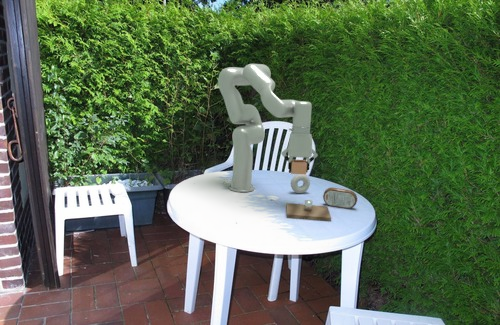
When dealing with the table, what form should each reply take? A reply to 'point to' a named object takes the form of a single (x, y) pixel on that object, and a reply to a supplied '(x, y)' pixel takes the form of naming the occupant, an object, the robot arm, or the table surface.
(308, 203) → the domed metal cylinder
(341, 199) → the tin
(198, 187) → the table surface
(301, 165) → the hollow square tube
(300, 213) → the board
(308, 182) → the donut
